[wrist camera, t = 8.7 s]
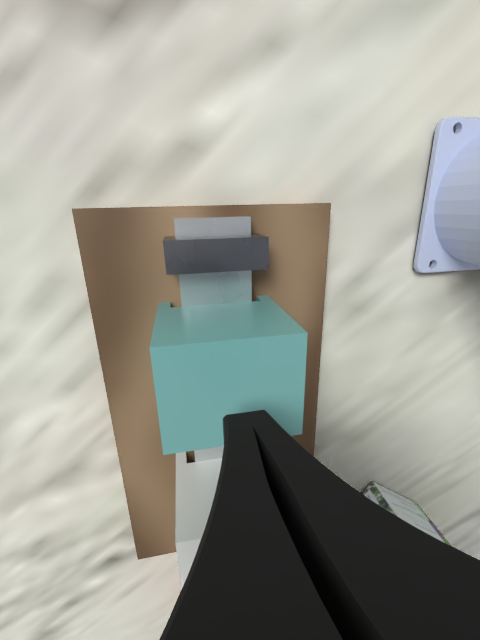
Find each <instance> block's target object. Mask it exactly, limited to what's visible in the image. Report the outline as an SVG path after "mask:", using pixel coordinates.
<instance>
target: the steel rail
mask: <svg viewBox="0 0 480 640" xmlns="http://www.w3.org/2000/svg"><path fill="white" fill-rule="evenodd" d="M174 225H175V236H165V237H164V239H163V247H164V257H165V267H166V275H178V274H179V282H180V294H181V305H182V307H186V306H200V305H213V304H227V303H240V302H252V277H251V270H265V269H268V266H269V236H265V235H262V234H258V233H251V216H232V217H196V218H174ZM223 449H224V446H220V447H214V448H207V449H201V450H194V453H195V462H199V461H205V460H212V459H218V458H222V456H223Z"/></svg>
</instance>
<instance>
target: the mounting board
mask: <svg viewBox="0 0 480 640" xmlns="http://www.w3.org/2000/svg"><path fill="white" fill-rule="evenodd" d="M330 209H331V203H314V204H269V205H223V206H177V207H131V208H85V209H72V212H73V218H74V223H75V228H76V234H77V239H78V244H79V249H80V255H81V260H82V265H83V271H84V276H85V281H86V287H87V292H88V297H89V302H90V308H91V313H92V318H93V324H94V329H95V334H96V339H97V345H98V350H99V355H100V361H101V366H102V371H103V377H104V382H105V387H106V392H107V398H108V403H109V408H110V414H111V419H112V424H113V430H114V435H115V440H116V445H117V451H118V456H119V461H120V467H121V472H122V477H123V483H124V488H125V493H126V498H127V504H128V509H129V514H130V520H131V525H132V530H133V535H134V541H135V546H136V551H137V557H138V559H143V558H148V557H153V556H158V555H163V554H168V553H173V552H177V551H176V544H175V527H176V453H174V454H167V455H163V449H162V441H161V434H160V426H159V418H158V410H157V402H156V395H155V387H154V379H153V371H152V363H151V356H150V342H151V337H152V332H153V327H154V322H155V317H156V312H157V307H158V303H162V302H171V308H172V307H182V305H181V294H180V282H179V274H178V275H166V267H165V257H164V247H163V239H164V237H165V236H175V225H174V218H196V217H232V216H251V233H258V234H262V235H265V236H269V266H268V269H265V270H251V277H252V302H254V301H256V296H261V295H268V296H269V297H270V298H271V299H272V300H273V301H274V302H275V303H276V304H278V305H279V306H280V307H281V308H282V309H283V310H284V311H285V312H286V313H287V314H288V315H289V316H290V317H291V318H292V319H294V320H295V321H296V322H297V323H298V324H299V325H300V326H301V327H302V328H303V329H304V330H305V331H306V332H307V333H308V337H307V355H306V374H305V392H304V411H303V429H302V434H300V435H293V436H291V437H292V438H293V439H295V440H296V441H297V442H298V443H299V444H300V445H301V446H302V447H303V448H304V449H305V450H307V451H308V452H309V453H310V454H311V455H312V456H313V455H314V440H315V426H316V411H317V397H318V383H319V368H320V354H321V339H322V325H323V310H324V296H325V281H326V267H327V253H328V238H329V224H330ZM186 457H187V463H193V462H195V453H194V451H187V452H186Z"/></svg>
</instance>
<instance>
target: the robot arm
mask: <svg viewBox="0 0 480 640" xmlns="http://www.w3.org/2000/svg"><path fill="white" fill-rule="evenodd" d="M454 125H455V127H456V131H455V133H454V132H453V127H454ZM431 261H432V264H431V266H430V267H429V263H430V262H431ZM414 269H415V271H417V272H420V273H432V272H447V271H463V270H478V269H480V118H471V117H448V118H444V119H442V120H441V121H439V123H438V124H437V126H436V129H435V135H434V141H433V147H432V153H431V160H430V166H429V172H428V178H427V185H426V191H425V197H424V203H423V209H422V216H421V222H420V228H419V234H418V240H417V247H416V253H415V259H414ZM223 436H224V449H223V456H222V463H221V469H220V474H219V478H218V483H217V487H216V492H215V496H214V499H213V503H212V507H211V510H210V513H209V517H208V520H207V523H206V526H205V530H204V532H203V535H202V538H201V541H200V544H199V547H198V550H197V552H196V555H195V558H194V560H193V563H192V566H191V568H190V571H189V573H188V576H187V578H186V581H185V583H184V585H183V588H182V590H181V592H180V595H179V597H178V599H177V602H176V604H175V606H174V609H173V611H172V613H171V616H170V618H169V620H168V622H167V625H166V627H165V629H164V631H163V633H162V635H161V637H160V640H480V560H478V559H476V558H474V557H472V556H470V555H467V554H465V553H464V552H462V551H460V550H458V549H456V548H454V547H452V546H450V545H448V544H446V543H444V542H442V541H440V540H438V539H436V538H434V537H432V536H431V535H429V534H427V533H425V532H423V531H422V530H420V529H418V528H416V527H414V526H413V525H411V524H409V523H407V522H406V521H404V520H402V519H401V518H399V517H397V516H396V515H394V514H392V513H391V512H389V511H387V510H386V509H384V508H382V507H381V506H379V505H378V504H376V503H375V502H373V501H372V500H370V499H368V498H367V497H366V496H364V495H363V494H361V493H360V492H358V491H357V490H356V489H354V488H353V487H351V486H350V485H348V484H347V483H346V482H344V481H343V480H342V479H340V478H339V477H338V476H336V475H335V474H334V473H333V472H331V471H330V470H329V469H328V468H326V467H325V466H324V465H323V464H321V463H320V462H319V461H318V460H317V459H316V458H314V457H313V456H312V455H311V454H310V453H309V452H308V451H307V450H305V449H304V448H303V447H302V446H301V445H300V444H299V443H298V442H297V441H296V440H295V439H293V438H292V437H291V436H290V435H289V434H288V433H287V432H286V431H285V430H284V429H283V428H282V427H281V426H280V425H279V424H278V423H277V422H276V421H275V420H274V419H273V418H272V417H271V416H270V415H269V413H268V412H266V411H265V410H258V411H251V412H243V413H236V414H228V415H226V416H225V417H224V418H223Z"/></svg>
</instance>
